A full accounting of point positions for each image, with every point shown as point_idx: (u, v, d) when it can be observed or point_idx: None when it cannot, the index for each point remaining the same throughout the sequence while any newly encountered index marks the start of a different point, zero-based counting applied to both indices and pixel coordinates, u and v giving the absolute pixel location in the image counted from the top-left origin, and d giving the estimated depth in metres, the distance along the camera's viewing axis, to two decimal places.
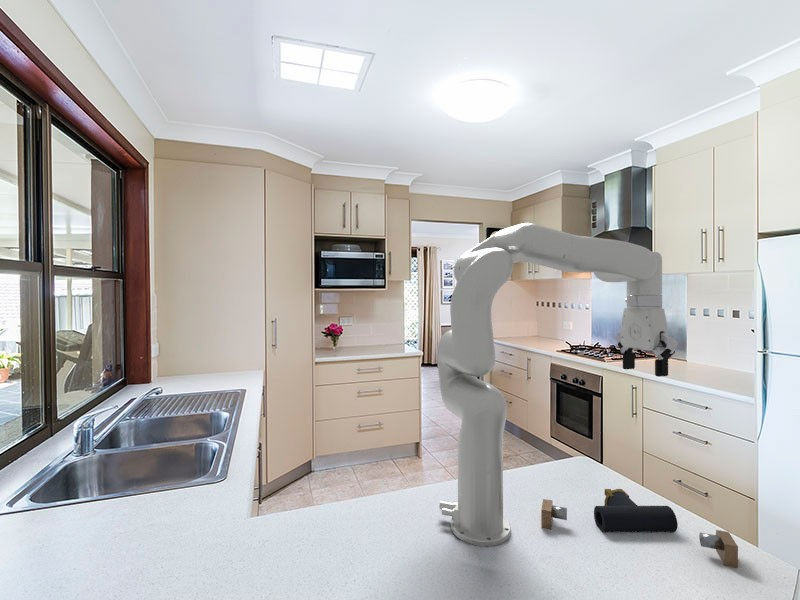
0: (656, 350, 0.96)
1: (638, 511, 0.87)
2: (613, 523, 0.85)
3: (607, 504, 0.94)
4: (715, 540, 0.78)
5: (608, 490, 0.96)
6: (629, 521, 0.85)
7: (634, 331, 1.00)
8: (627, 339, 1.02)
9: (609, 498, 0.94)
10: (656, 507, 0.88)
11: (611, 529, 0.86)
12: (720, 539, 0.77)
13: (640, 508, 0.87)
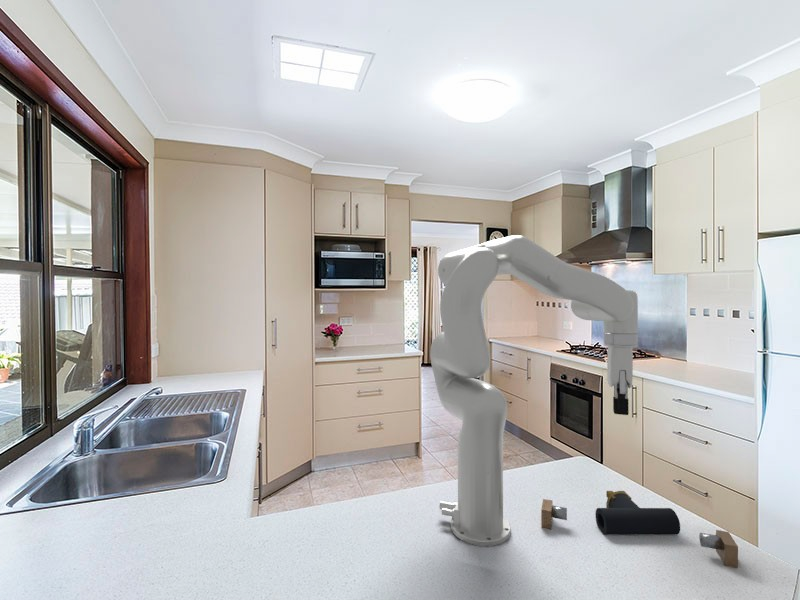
0: (615, 390, 1.01)
1: (640, 513, 0.86)
2: (615, 525, 0.84)
3: (609, 506, 0.93)
4: (715, 540, 0.78)
5: (610, 492, 0.95)
6: (631, 524, 0.85)
7: None
8: (607, 374, 1.05)
9: (611, 500, 0.93)
10: (659, 509, 0.87)
11: (612, 532, 0.85)
12: (720, 539, 0.77)
13: (643, 510, 0.86)
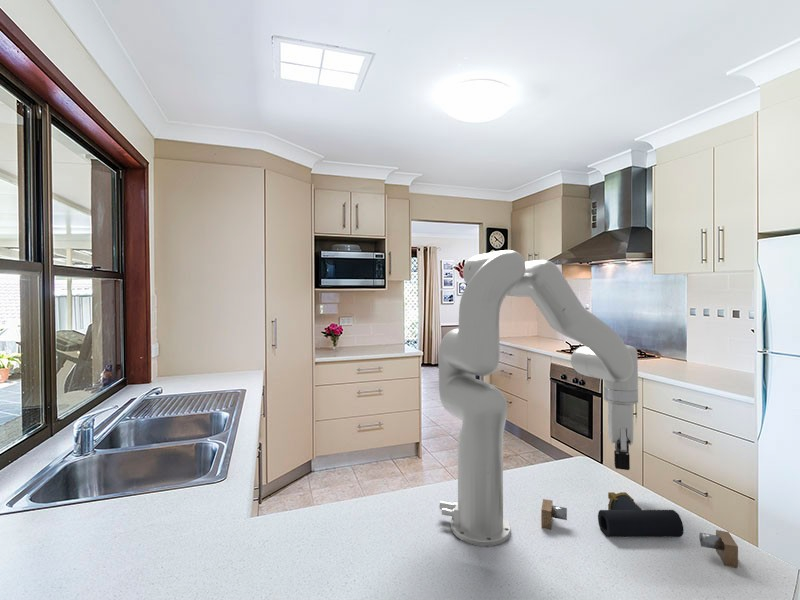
0: (616, 445, 1.01)
1: (643, 515, 0.85)
2: (618, 528, 0.84)
3: (611, 508, 0.93)
4: (715, 540, 0.78)
5: (612, 494, 0.94)
6: (634, 526, 0.84)
7: (608, 421, 1.04)
8: None
9: (613, 502, 0.92)
10: (661, 511, 0.86)
11: (615, 534, 0.84)
12: (720, 539, 0.77)
13: (645, 512, 0.86)
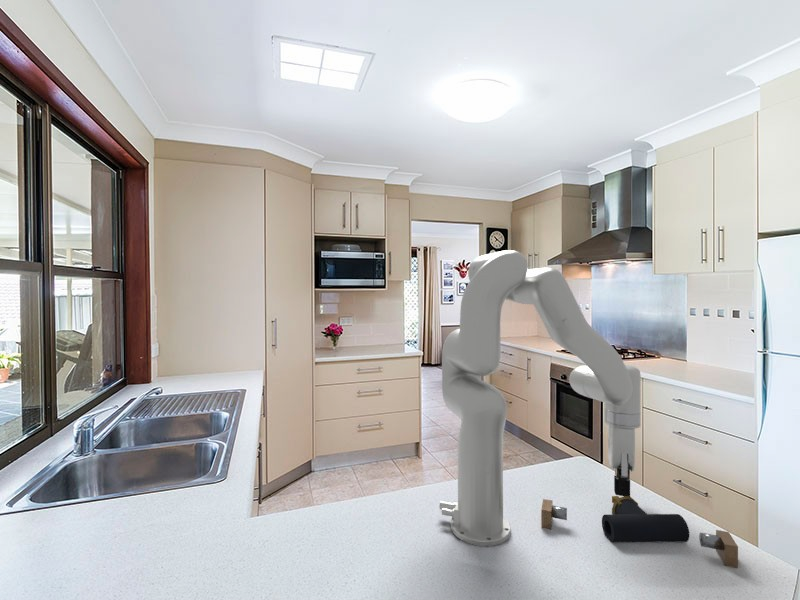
0: (616, 470, 0.97)
1: (648, 520, 0.83)
2: (623, 533, 0.82)
3: (615, 512, 0.91)
4: (715, 540, 0.78)
5: (616, 497, 0.92)
6: (639, 531, 0.82)
7: None
8: None
9: (617, 506, 0.91)
10: (667, 516, 0.84)
11: (620, 540, 0.82)
12: (720, 539, 0.77)
13: (651, 517, 0.84)
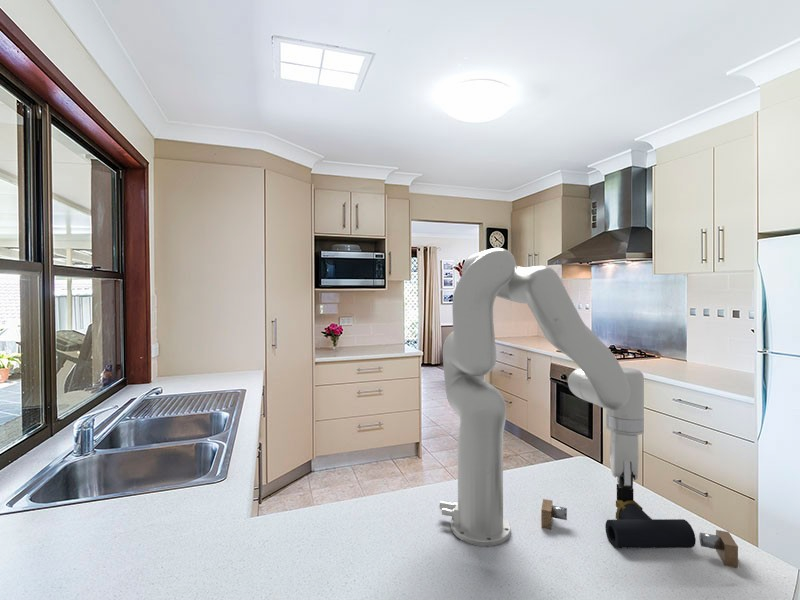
0: (619, 479, 0.92)
1: (653, 526, 0.81)
2: (627, 539, 0.80)
3: (619, 517, 0.89)
4: (715, 540, 0.78)
5: (620, 502, 0.91)
6: (644, 536, 0.80)
7: (610, 451, 0.94)
8: None
9: (621, 510, 0.89)
10: (672, 521, 0.82)
11: (624, 546, 0.80)
12: (720, 539, 0.77)
13: (655, 522, 0.82)
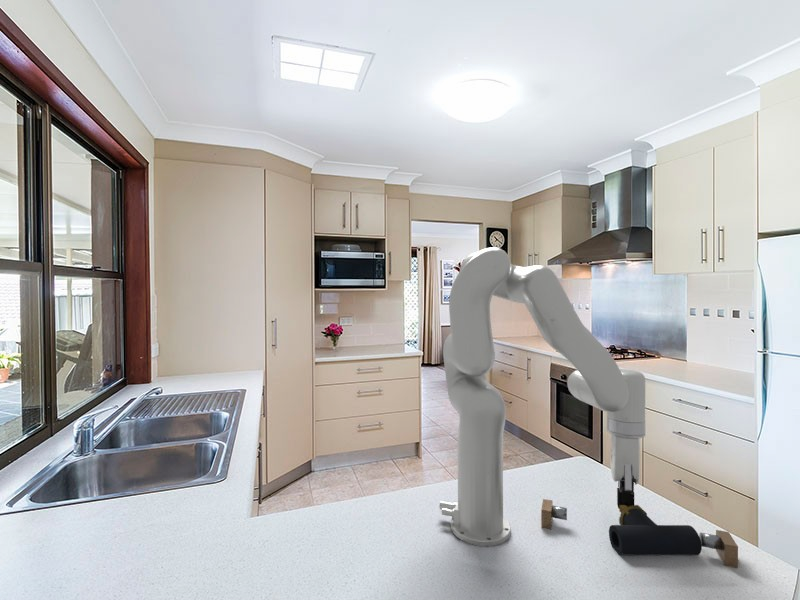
0: (619, 483, 0.90)
1: (658, 532, 0.79)
2: (631, 545, 0.78)
3: (622, 522, 0.87)
4: (715, 540, 0.78)
5: (623, 506, 0.88)
6: (649, 543, 0.78)
7: (611, 455, 0.92)
8: None
9: (625, 516, 0.87)
10: (678, 527, 0.80)
11: (628, 552, 0.78)
12: (720, 539, 0.77)
13: (660, 528, 0.80)
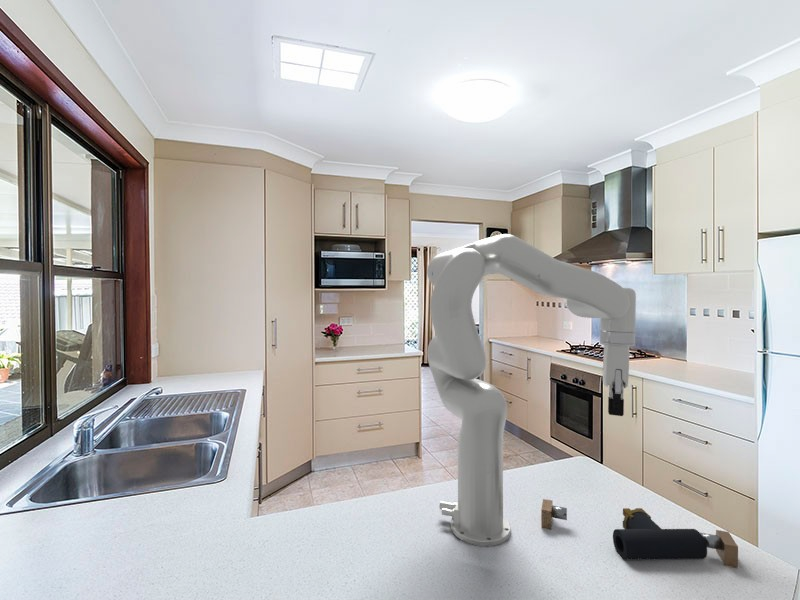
0: (610, 390, 0.98)
1: (663, 536, 0.78)
2: (636, 550, 0.76)
3: (626, 526, 0.85)
4: (715, 540, 0.78)
5: (627, 510, 0.87)
6: (654, 547, 0.77)
7: (603, 366, 1.01)
8: None
9: (628, 519, 0.85)
10: (683, 531, 0.79)
11: (633, 557, 0.77)
12: (720, 539, 0.77)
13: (665, 532, 0.79)
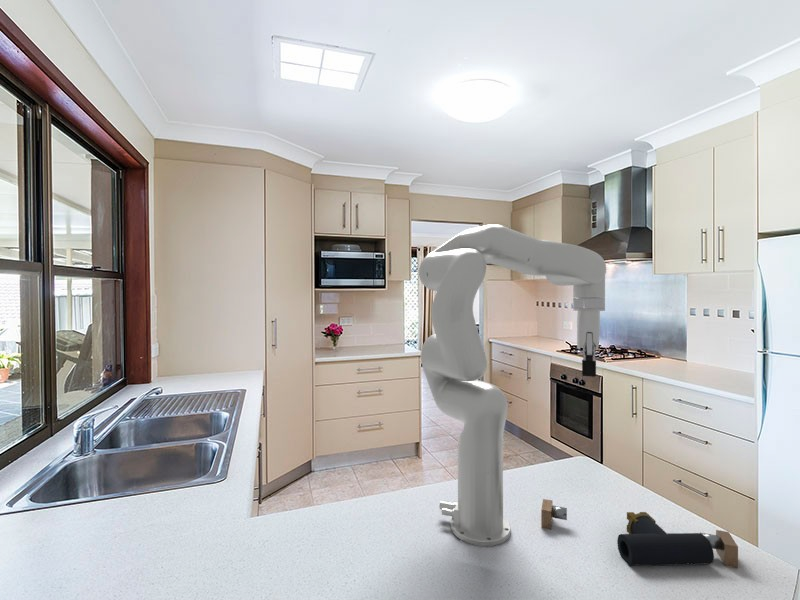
0: (583, 352, 1.05)
1: (669, 541, 0.76)
2: (641, 555, 0.75)
3: (630, 530, 0.84)
4: (715, 540, 0.78)
5: (631, 514, 0.86)
6: (659, 553, 0.75)
7: None
8: None
9: (633, 523, 0.84)
10: (688, 535, 0.77)
11: (638, 562, 0.75)
12: (720, 539, 0.77)
13: (671, 536, 0.77)
